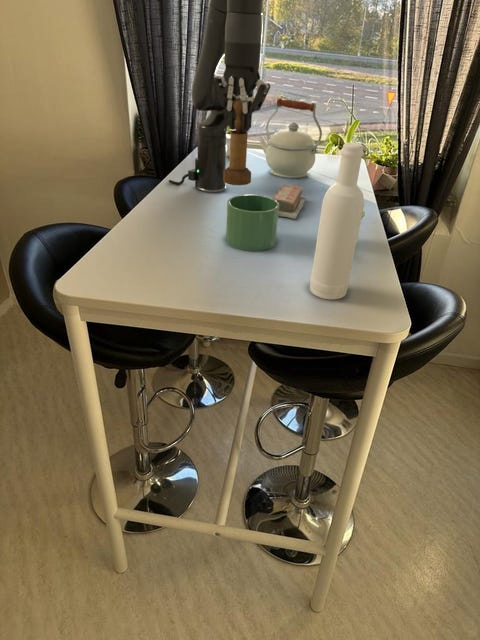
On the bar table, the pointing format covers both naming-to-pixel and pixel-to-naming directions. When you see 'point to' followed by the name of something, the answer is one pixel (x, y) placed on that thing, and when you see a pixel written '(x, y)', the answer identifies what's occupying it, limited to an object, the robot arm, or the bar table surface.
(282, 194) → the packaged product
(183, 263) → the bar table surface
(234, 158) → the brown knobbed turned figurine
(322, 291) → the bottle
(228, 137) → the white small box
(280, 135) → the kettle
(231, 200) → the cup
